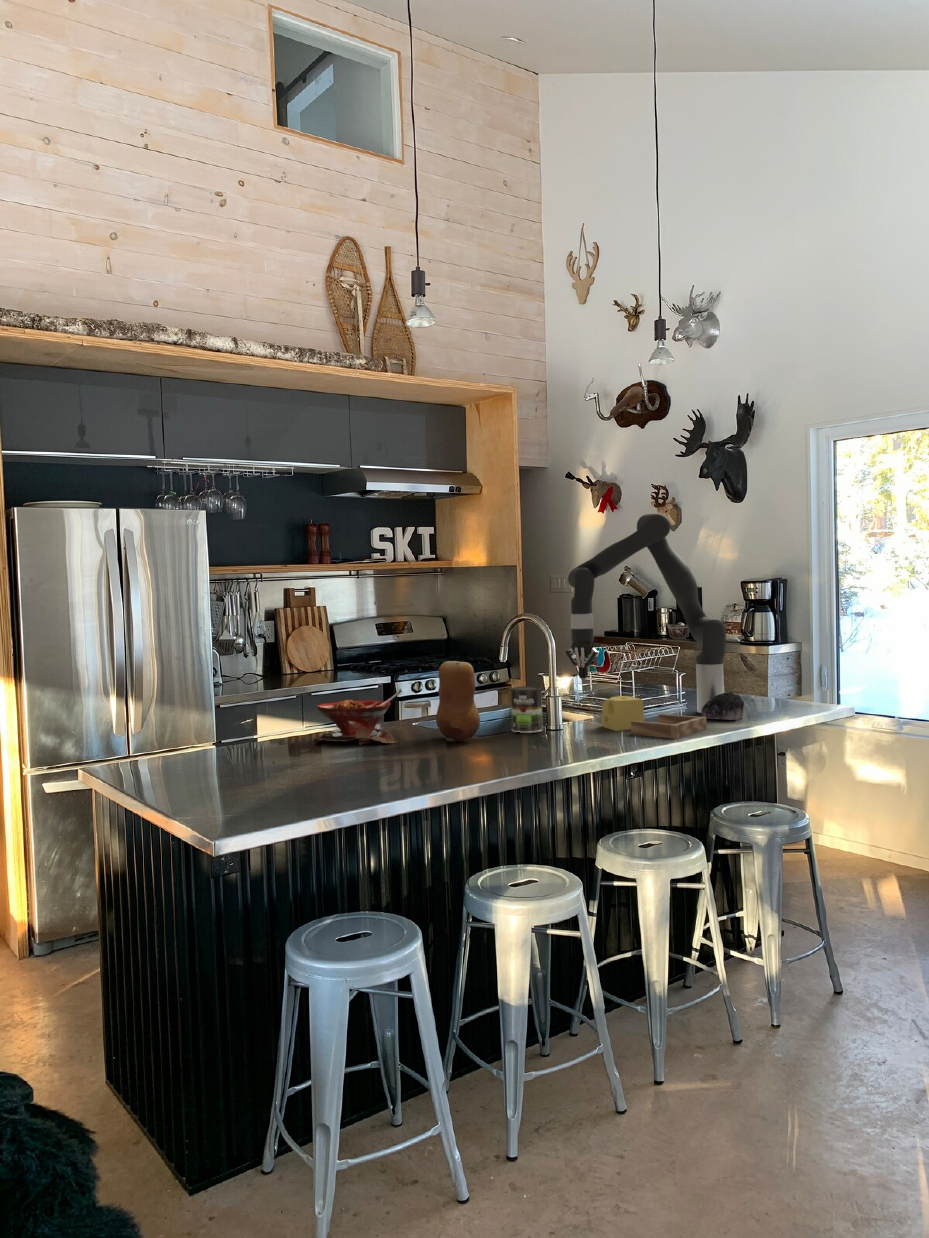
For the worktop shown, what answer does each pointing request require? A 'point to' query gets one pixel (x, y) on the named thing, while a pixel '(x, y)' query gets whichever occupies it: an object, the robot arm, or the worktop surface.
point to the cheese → (621, 712)
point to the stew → (356, 720)
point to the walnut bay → (669, 726)
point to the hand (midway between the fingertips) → (583, 678)
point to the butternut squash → (457, 701)
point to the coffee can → (526, 709)
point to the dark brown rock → (724, 707)
